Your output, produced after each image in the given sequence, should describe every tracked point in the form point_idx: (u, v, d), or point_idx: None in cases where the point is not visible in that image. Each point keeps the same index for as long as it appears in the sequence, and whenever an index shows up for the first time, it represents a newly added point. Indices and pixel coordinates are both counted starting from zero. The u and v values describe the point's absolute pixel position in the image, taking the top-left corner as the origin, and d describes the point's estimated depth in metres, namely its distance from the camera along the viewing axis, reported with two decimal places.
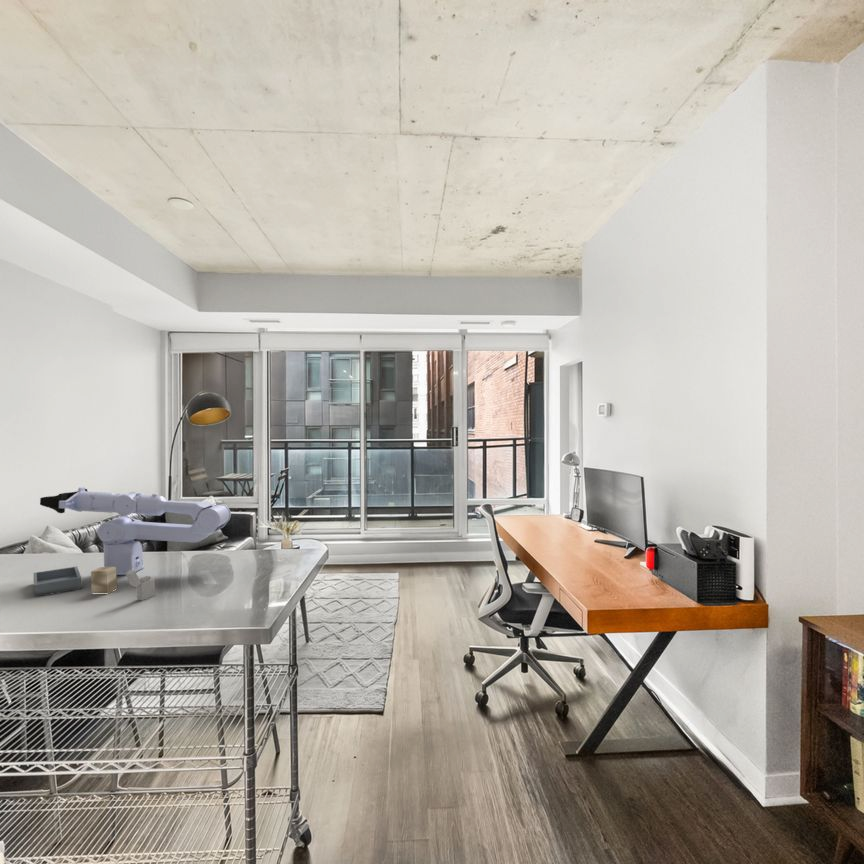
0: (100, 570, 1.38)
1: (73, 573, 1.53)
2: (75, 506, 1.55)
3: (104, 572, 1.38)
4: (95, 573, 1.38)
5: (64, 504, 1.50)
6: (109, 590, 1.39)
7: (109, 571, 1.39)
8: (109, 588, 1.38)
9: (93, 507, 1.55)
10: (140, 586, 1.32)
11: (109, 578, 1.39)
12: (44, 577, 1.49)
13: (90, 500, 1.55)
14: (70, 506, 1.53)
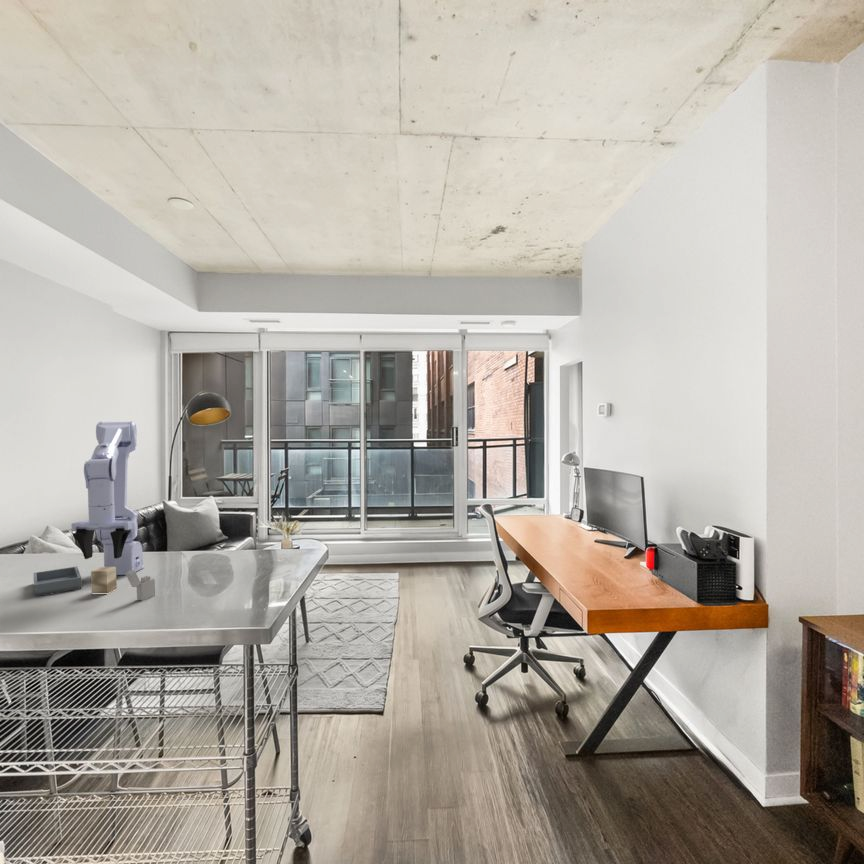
0: (100, 570, 1.38)
1: (73, 573, 1.53)
2: (115, 521, 1.40)
3: (104, 572, 1.38)
4: (95, 573, 1.38)
5: (130, 523, 1.39)
6: (109, 590, 1.39)
7: (109, 571, 1.39)
8: (109, 588, 1.38)
9: None
10: (140, 586, 1.32)
11: (109, 578, 1.39)
12: (44, 577, 1.49)
13: (110, 507, 1.38)
14: (122, 522, 1.40)
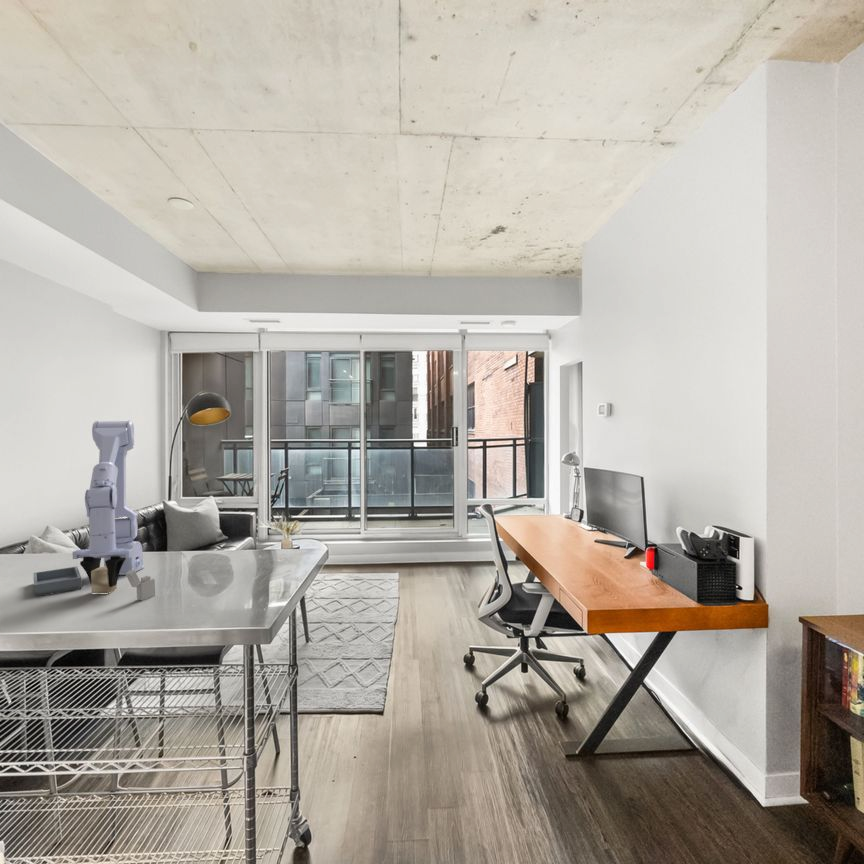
0: (100, 570, 1.38)
1: (73, 573, 1.53)
2: (116, 549, 1.41)
3: (104, 572, 1.38)
4: (95, 573, 1.38)
5: (130, 551, 1.39)
6: (109, 590, 1.39)
7: None
8: (109, 587, 1.38)
9: None
10: (140, 586, 1.32)
11: None
12: (44, 577, 1.49)
13: (111, 535, 1.39)
14: (123, 550, 1.40)
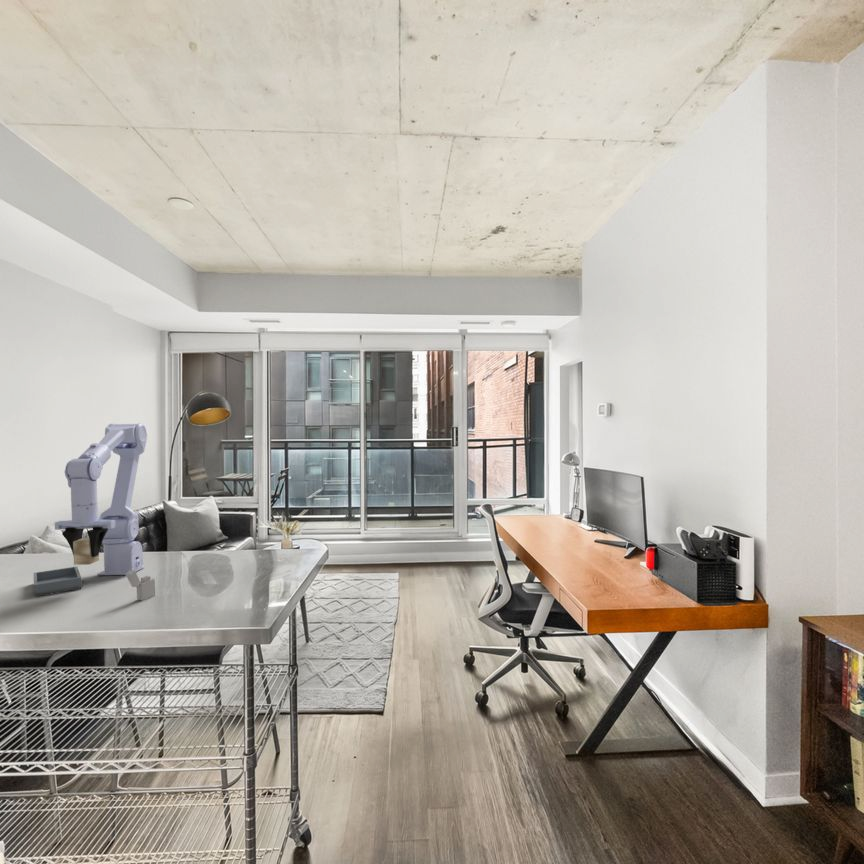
0: (82, 540, 1.40)
1: (73, 573, 1.53)
2: (98, 520, 1.42)
3: (86, 542, 1.39)
4: (77, 543, 1.39)
5: (112, 521, 1.41)
6: (91, 560, 1.40)
7: None
8: (91, 558, 1.40)
9: None
10: (140, 586, 1.32)
11: None
12: (44, 577, 1.49)
13: (93, 506, 1.40)
14: (105, 521, 1.42)
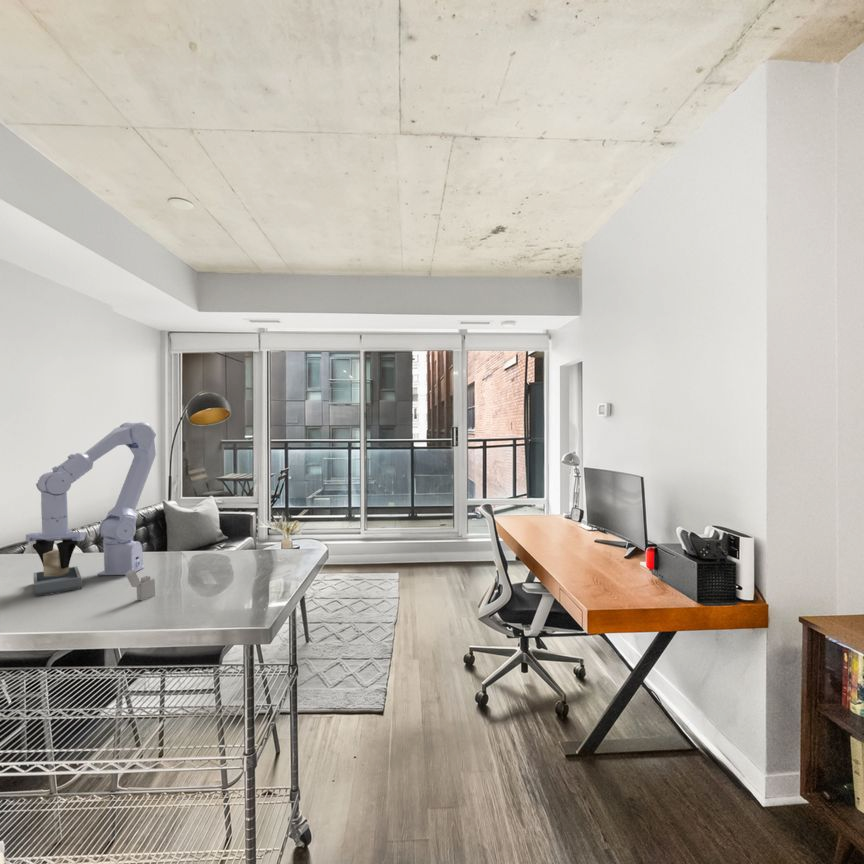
0: (52, 553, 1.44)
1: (73, 573, 1.53)
2: (68, 533, 1.46)
3: (56, 554, 1.43)
4: (46, 555, 1.43)
5: (82, 534, 1.45)
6: (61, 572, 1.44)
7: None
8: (60, 570, 1.44)
9: (63, 515, 1.44)
10: (140, 586, 1.32)
11: None
12: (44, 577, 1.49)
13: (62, 519, 1.44)
14: None
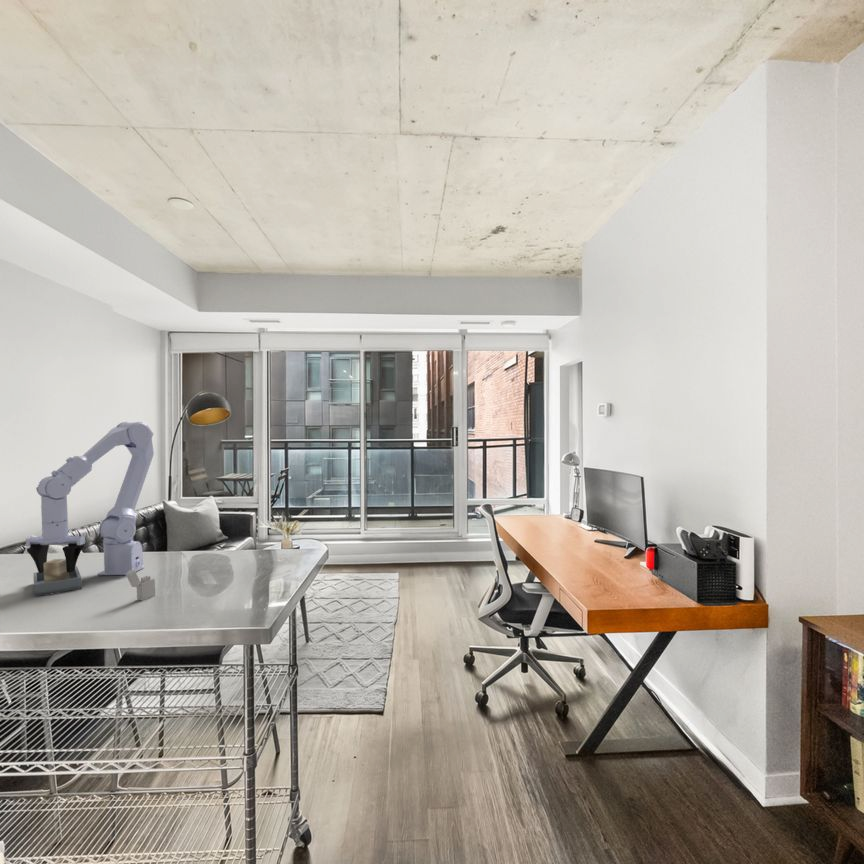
0: (52, 562, 1.44)
1: (73, 573, 1.53)
2: (68, 537, 1.46)
3: (56, 564, 1.43)
4: (47, 565, 1.43)
5: (82, 538, 1.45)
6: None
7: (61, 563, 1.44)
8: (61, 579, 1.44)
9: (63, 519, 1.44)
10: (140, 586, 1.32)
11: (62, 569, 1.44)
12: None
13: (62, 523, 1.44)
14: None
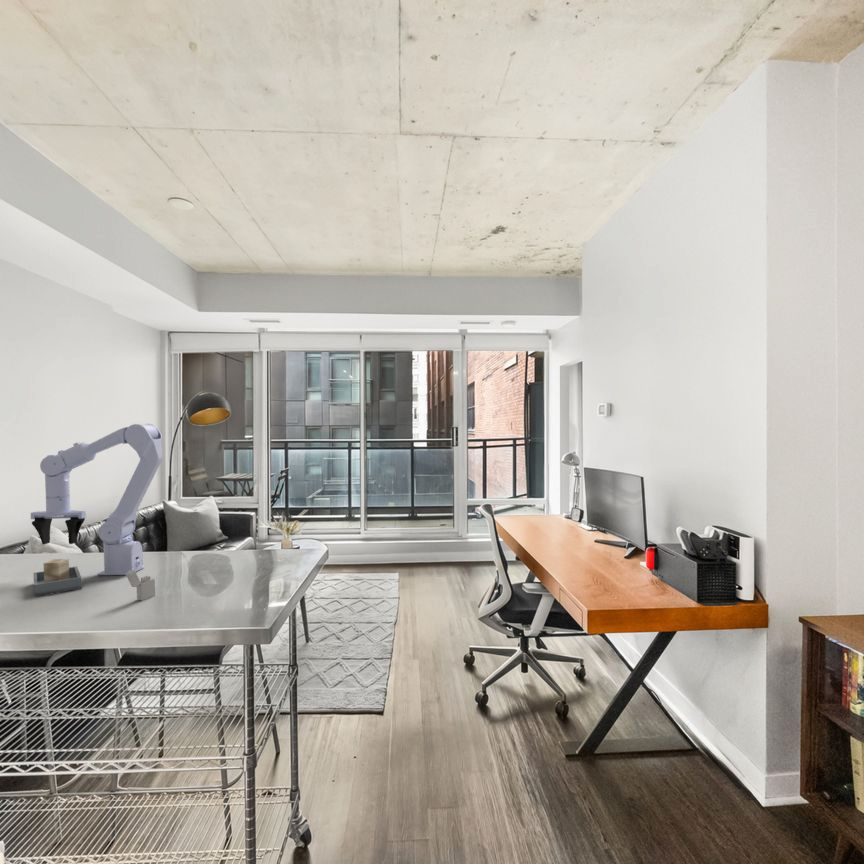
0: (52, 562, 1.44)
1: (73, 573, 1.53)
2: (70, 511, 1.57)
3: (56, 564, 1.43)
4: (47, 565, 1.43)
5: (83, 512, 1.56)
6: None
7: (61, 563, 1.44)
8: (61, 579, 1.44)
9: (57, 496, 1.54)
10: (140, 586, 1.32)
11: (62, 569, 1.44)
12: None
13: (65, 498, 1.55)
14: None
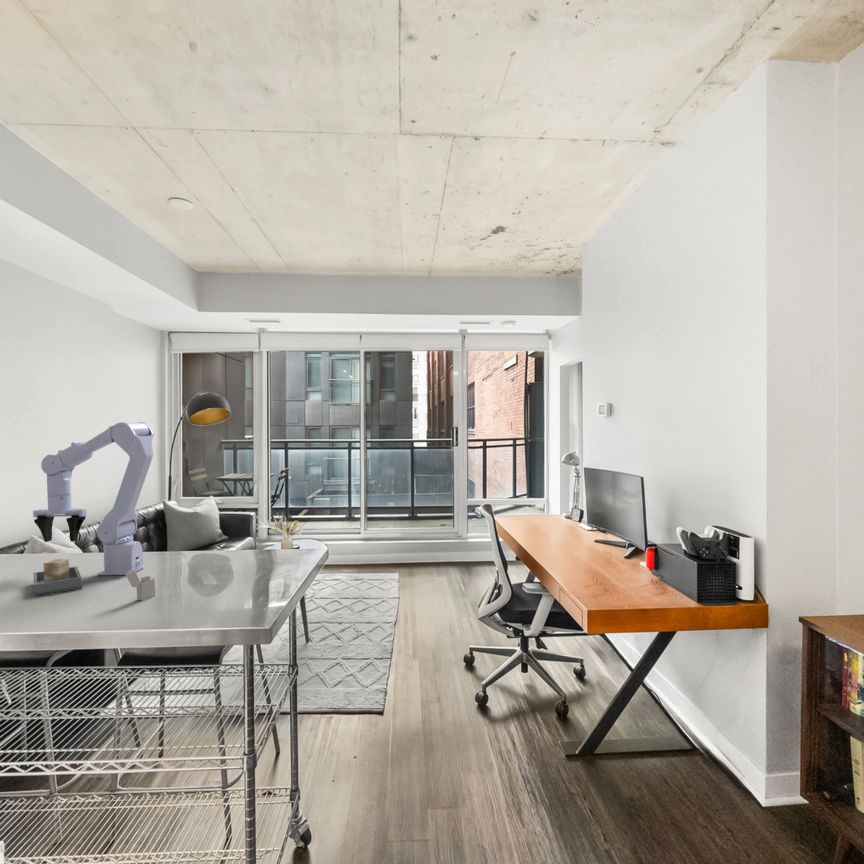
0: (52, 562, 1.44)
1: (73, 573, 1.53)
2: (71, 509, 1.61)
3: (56, 564, 1.43)
4: (47, 565, 1.43)
5: (84, 510, 1.60)
6: None
7: (61, 563, 1.44)
8: (61, 579, 1.44)
9: (56, 494, 1.57)
10: (140, 586, 1.32)
11: (62, 569, 1.44)
12: None
13: (66, 496, 1.59)
14: (77, 510, 1.61)
